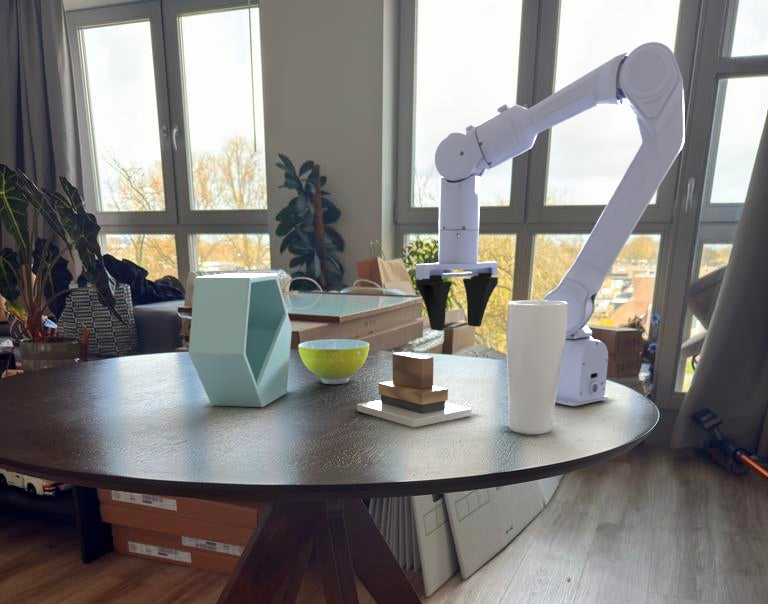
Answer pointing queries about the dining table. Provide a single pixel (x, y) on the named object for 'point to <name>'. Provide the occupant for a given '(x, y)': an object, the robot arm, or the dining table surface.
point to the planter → (240, 338)
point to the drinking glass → (534, 362)
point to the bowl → (334, 358)
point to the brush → (413, 385)
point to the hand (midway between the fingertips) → (456, 328)
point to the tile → (413, 413)
